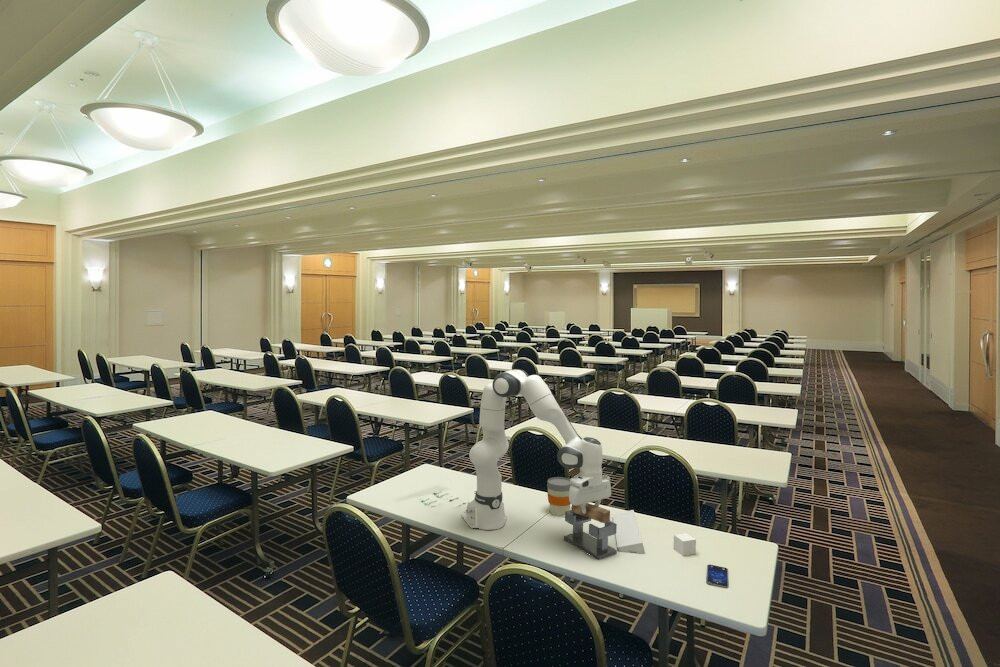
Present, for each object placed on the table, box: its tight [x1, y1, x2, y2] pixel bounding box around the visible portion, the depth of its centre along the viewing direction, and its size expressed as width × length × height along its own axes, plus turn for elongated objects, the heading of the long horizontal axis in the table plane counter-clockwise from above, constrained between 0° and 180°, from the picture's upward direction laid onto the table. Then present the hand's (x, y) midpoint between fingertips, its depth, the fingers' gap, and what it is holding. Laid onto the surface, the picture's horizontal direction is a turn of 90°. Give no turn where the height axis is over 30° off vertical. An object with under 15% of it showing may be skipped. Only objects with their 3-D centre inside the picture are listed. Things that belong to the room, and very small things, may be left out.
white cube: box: [673, 532, 697, 557], centre depth 207 cm, size 6×6×6 cm
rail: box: [571, 502, 611, 524], centre depth 209 cm, size 16×4×4 cm, turn 45°
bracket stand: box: [563, 509, 618, 561], centre depth 210 cm, size 21×10×12 cm, turn 33°
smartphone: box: [705, 564, 730, 589], centre depth 187 cm, size 7×1×15 cm
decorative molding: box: [611, 509, 646, 555], centre depth 222 cm, size 34×5×10 cm
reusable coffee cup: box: [546, 476, 572, 517], centre depth 245 cm, size 13×12×15 cm
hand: (590, 511), depth 209 cm, fingers closed on rail, 4 cm apart
